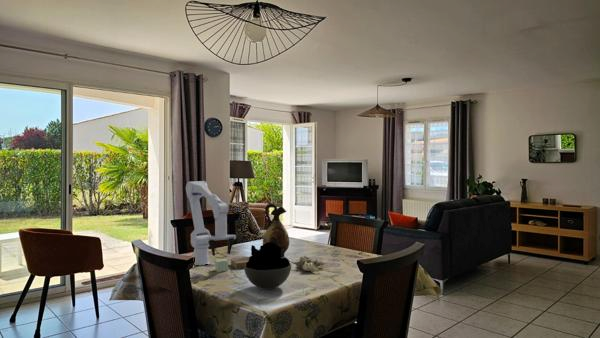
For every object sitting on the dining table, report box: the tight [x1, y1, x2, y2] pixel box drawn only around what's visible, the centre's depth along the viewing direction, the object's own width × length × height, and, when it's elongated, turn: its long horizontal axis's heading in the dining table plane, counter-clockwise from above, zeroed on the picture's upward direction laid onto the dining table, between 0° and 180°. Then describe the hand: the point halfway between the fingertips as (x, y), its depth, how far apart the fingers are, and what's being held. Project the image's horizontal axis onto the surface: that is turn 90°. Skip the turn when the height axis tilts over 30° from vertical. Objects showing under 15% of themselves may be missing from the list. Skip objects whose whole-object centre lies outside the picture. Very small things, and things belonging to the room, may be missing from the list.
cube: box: [214, 258, 229, 273], centre depth 201 cm, size 5×5×5 cm
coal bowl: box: [243, 242, 292, 290], centre depth 171 cm, size 20×20×19 cm
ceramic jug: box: [262, 203, 290, 258], centre depth 233 cm, size 17×15×30 cm
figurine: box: [289, 255, 330, 273], centre depth 200 cm, size 20×6×17 cm
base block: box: [230, 256, 250, 270], centre depth 210 cm, size 11×11×3 cm
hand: (221, 254), depth 201 cm, fingers open, 7 cm apart
